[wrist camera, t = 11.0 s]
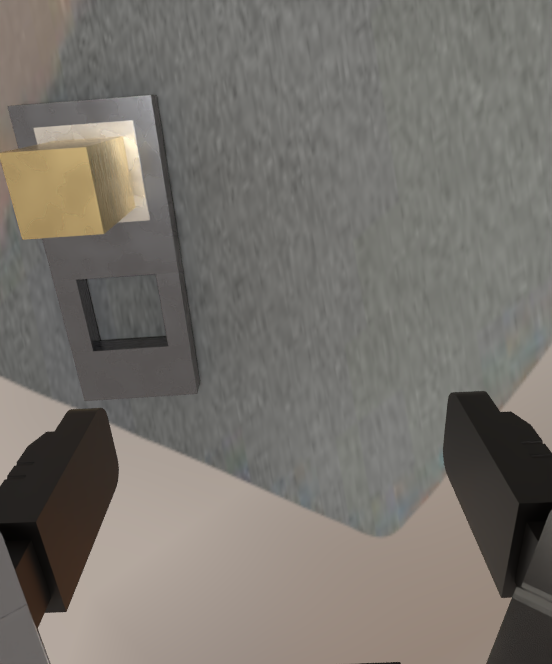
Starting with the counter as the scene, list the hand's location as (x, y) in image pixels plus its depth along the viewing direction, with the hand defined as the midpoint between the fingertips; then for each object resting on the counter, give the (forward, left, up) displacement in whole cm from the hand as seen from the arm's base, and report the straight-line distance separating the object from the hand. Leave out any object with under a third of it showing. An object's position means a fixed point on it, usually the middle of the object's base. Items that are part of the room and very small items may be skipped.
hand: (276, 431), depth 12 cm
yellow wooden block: (-3, -13, -29) cm, 32 cm away
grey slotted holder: (+4, -13, -31) cm, 34 cm away
